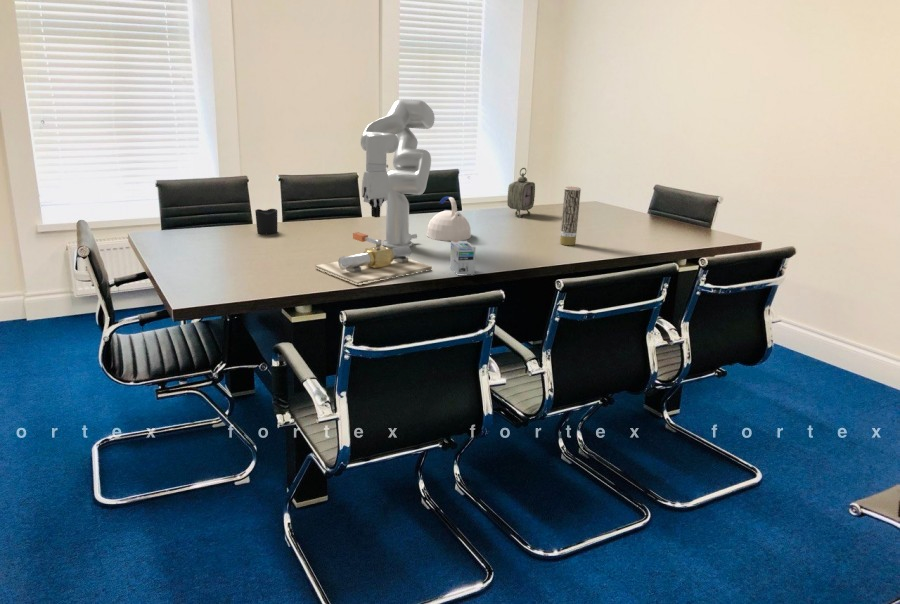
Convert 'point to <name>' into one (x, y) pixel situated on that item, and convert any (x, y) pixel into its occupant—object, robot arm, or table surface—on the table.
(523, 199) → the tabletop clock
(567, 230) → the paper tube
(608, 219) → the table surface
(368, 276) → the valve board
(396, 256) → the pipe and valve
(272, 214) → the pen holder
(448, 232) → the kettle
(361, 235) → the valve handle
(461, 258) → the light bulb box
